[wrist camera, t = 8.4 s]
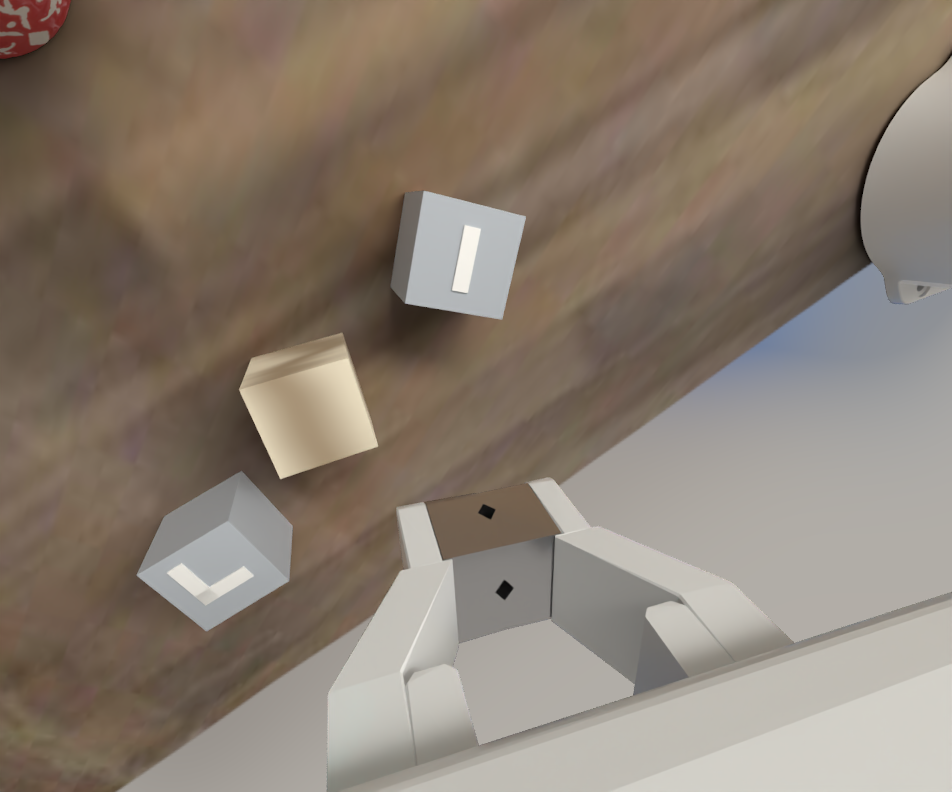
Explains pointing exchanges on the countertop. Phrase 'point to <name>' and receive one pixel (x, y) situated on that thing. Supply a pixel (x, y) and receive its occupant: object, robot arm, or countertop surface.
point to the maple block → (308, 405)
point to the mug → (29, 24)
